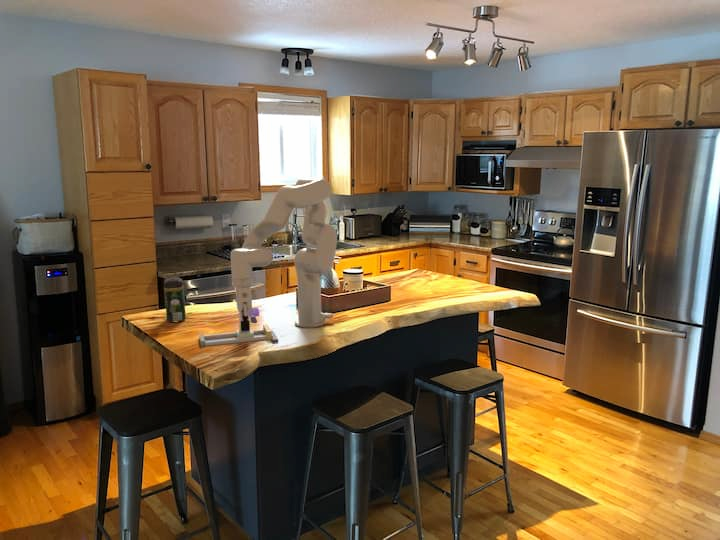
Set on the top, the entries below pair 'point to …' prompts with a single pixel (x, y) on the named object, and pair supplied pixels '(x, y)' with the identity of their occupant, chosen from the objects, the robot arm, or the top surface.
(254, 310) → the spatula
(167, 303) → the coffee jar
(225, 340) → the track
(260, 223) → the robot arm
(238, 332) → the keeper
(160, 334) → the top surface
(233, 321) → the top surface
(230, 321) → the top surface
